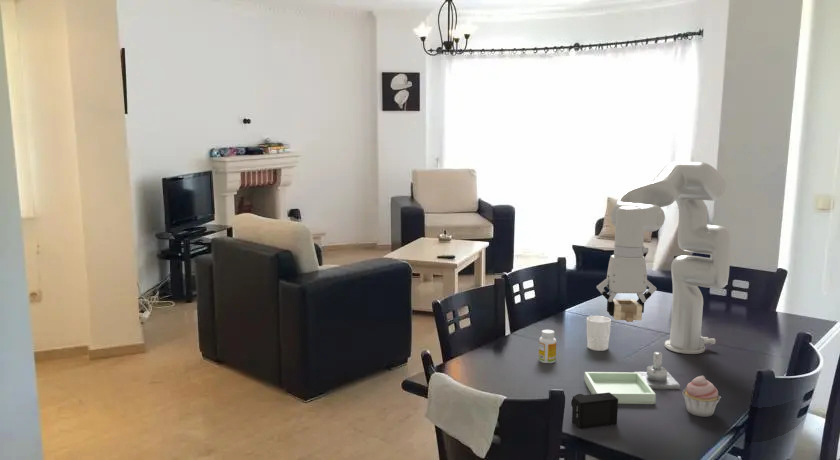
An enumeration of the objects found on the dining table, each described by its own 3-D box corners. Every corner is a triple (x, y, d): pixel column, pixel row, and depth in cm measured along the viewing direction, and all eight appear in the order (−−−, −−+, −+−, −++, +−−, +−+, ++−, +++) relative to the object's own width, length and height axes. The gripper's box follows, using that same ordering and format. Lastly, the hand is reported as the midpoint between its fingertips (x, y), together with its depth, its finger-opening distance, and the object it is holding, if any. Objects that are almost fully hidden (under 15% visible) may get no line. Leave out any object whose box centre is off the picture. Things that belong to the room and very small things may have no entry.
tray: (637, 381, 193) (638, 372, 193) (655, 403, 178) (655, 394, 177) (584, 381, 194) (584, 371, 193) (596, 403, 178) (597, 393, 178)
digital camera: (606, 415, 171) (607, 390, 170) (617, 424, 166) (618, 398, 165) (569, 419, 169) (570, 393, 167) (579, 429, 163) (580, 402, 162)
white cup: (610, 352, 218) (611, 323, 217) (586, 350, 220) (587, 321, 218) (608, 344, 226) (610, 316, 224) (585, 343, 227) (586, 315, 226)
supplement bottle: (556, 358, 212) (557, 329, 211) (554, 364, 207) (555, 334, 206) (540, 356, 214) (540, 328, 212) (537, 362, 209) (538, 332, 207)
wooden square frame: (609, 312, 186) (609, 299, 186) (634, 313, 186) (635, 299, 185) (616, 321, 178) (617, 307, 177) (643, 322, 178) (644, 307, 177)
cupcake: (727, 418, 169) (730, 381, 168) (695, 421, 167) (697, 384, 166) (704, 403, 178) (707, 367, 177) (673, 406, 176) (676, 370, 175)
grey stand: (667, 375, 198) (669, 347, 196) (679, 389, 188) (681, 359, 186) (634, 375, 198) (635, 347, 196) (644, 388, 188) (645, 359, 187)
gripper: (656, 249, 183) (652, 311, 186) (593, 248, 184) (590, 310, 187) (665, 254, 176) (661, 319, 179) (599, 253, 177) (596, 318, 179)
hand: (624, 314), depth 183 cm, fingers closed on wooden square frame, 7 cm apart
